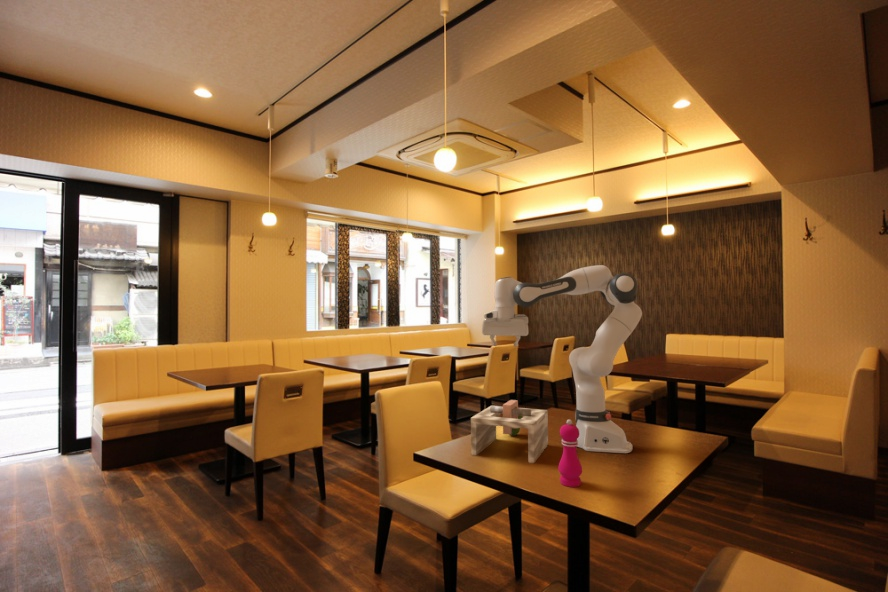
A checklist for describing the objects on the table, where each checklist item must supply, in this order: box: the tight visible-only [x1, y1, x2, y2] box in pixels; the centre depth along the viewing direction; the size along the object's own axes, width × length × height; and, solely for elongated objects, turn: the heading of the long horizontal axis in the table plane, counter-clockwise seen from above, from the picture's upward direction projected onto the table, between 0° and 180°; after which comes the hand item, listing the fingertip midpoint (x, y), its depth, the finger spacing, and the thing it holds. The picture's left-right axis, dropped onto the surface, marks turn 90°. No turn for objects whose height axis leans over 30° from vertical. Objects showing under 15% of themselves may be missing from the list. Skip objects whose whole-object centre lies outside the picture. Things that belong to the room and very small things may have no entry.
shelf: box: [470, 405, 549, 464], centre depth 179 cm, size 24×24×16 cm
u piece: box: [502, 399, 519, 436], centre depth 179 cm, size 3×10×11 cm, turn 155°
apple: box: [508, 415, 524, 437], centre depth 199 cm, size 9×8×12 cm
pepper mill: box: [557, 419, 583, 488], centre depth 144 cm, size 7×7×20 cm
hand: (505, 346), depth 198 cm, fingers open, 8 cm apart
